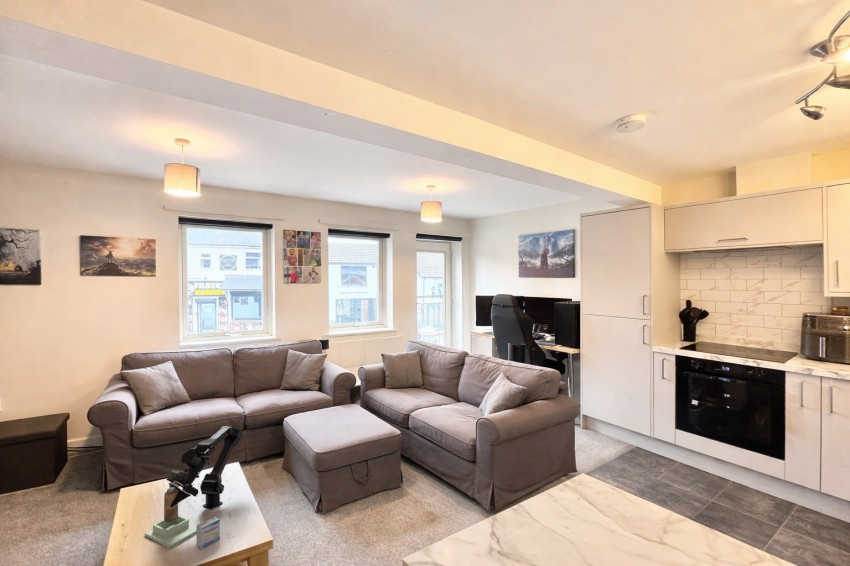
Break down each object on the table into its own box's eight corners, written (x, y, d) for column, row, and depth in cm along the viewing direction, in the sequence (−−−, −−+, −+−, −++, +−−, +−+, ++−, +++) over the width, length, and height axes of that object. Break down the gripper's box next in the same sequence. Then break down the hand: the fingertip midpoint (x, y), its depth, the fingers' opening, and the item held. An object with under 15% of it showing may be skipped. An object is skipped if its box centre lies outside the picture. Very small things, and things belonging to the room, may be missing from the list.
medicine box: (201, 549, 164) (201, 528, 164) (195, 545, 166) (196, 525, 166) (220, 539, 170) (220, 519, 170) (214, 535, 173) (214, 515, 173)
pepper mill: (180, 516, 176) (180, 487, 176) (168, 523, 171) (168, 493, 171) (173, 513, 178) (173, 485, 178) (161, 519, 174) (161, 490, 174)
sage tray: (202, 530, 176) (202, 520, 176) (169, 548, 164) (169, 538, 164) (177, 518, 184) (177, 509, 184) (144, 535, 172) (144, 526, 172)
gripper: (171, 457, 183) (143, 491, 174) (191, 468, 173) (163, 504, 164) (189, 467, 190) (163, 500, 181) (209, 478, 179) (183, 514, 170)
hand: (167, 504), depth 174 cm, fingers closed on pepper mill, 5 cm apart
